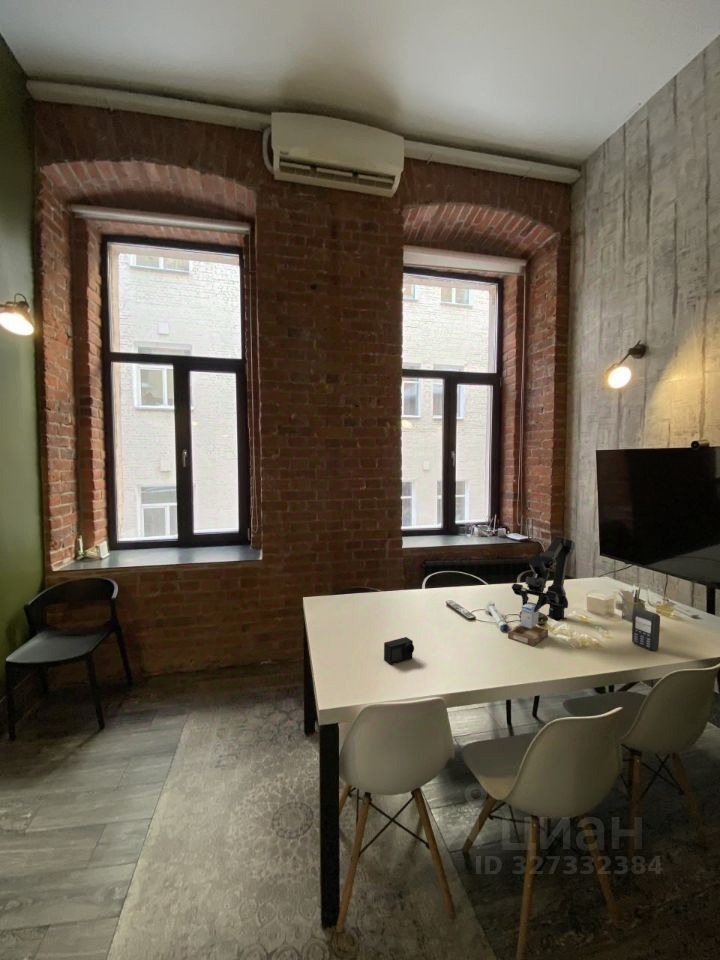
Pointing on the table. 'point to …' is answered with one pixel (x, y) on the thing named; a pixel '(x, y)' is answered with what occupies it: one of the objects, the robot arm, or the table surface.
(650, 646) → the card reader
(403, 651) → the digital camera
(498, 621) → the white stick
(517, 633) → the tray
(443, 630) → the table surface
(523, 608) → the medicine box
